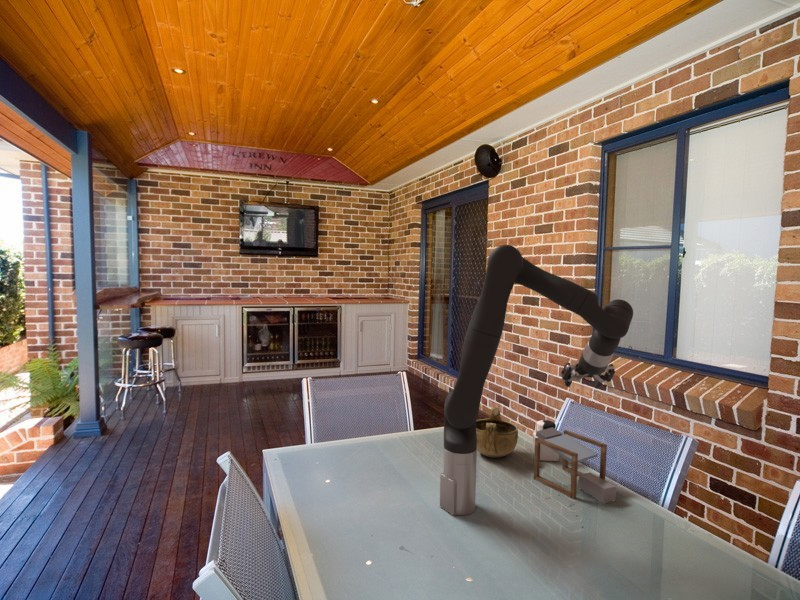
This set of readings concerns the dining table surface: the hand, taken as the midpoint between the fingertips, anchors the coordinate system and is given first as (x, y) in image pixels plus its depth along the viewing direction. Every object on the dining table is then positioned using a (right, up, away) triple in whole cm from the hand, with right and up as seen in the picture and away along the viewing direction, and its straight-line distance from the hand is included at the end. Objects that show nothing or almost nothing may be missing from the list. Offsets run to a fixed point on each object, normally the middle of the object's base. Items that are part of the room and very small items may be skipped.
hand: (581, 385), depth 141 cm
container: (-3, -31, +24) cm, 39 cm away
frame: (-3, -32, +4) cm, 32 cm away
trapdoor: (-4, -21, +5) cm, 22 cm away
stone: (+1, -30, +1) cm, 30 cm away
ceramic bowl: (-22, -31, +26) cm, 45 cm away
